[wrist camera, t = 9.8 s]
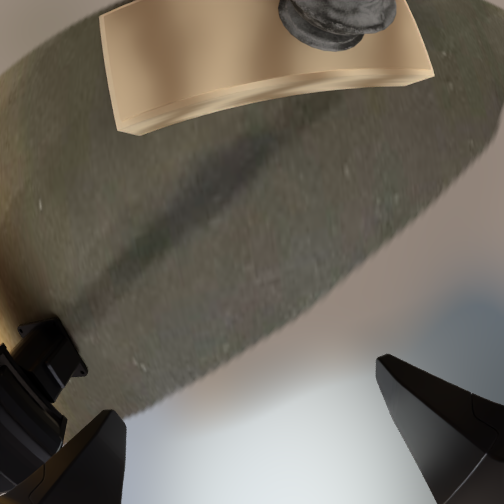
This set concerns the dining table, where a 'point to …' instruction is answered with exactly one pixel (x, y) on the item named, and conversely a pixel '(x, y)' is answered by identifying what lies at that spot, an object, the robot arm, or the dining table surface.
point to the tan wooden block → (236, 59)
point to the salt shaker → (335, 21)
